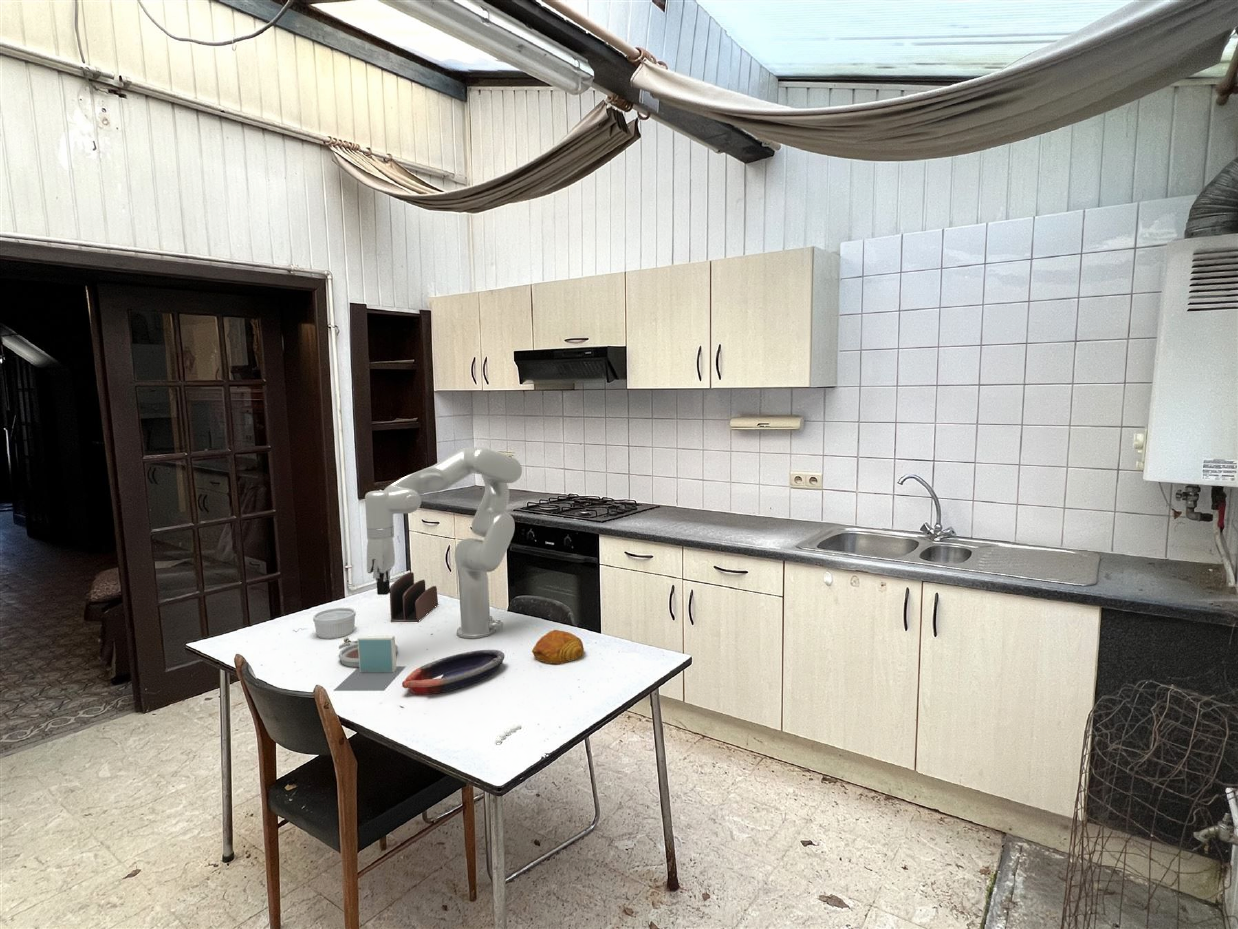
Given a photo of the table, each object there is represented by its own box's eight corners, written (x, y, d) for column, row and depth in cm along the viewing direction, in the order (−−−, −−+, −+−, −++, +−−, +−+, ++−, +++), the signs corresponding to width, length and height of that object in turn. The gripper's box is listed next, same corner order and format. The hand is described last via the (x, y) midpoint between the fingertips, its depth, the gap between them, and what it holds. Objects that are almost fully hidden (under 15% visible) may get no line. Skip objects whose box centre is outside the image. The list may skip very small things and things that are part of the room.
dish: (517, 672, 192) (516, 656, 191) (414, 707, 172) (413, 688, 171) (490, 657, 203) (489, 641, 203) (390, 688, 184) (389, 670, 183)
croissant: (560, 649, 213) (557, 624, 213) (592, 655, 202) (590, 629, 202) (523, 662, 203) (520, 635, 203) (555, 669, 192) (552, 641, 192)
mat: (406, 667, 197) (405, 666, 196) (384, 692, 181) (384, 690, 181) (359, 668, 197) (359, 666, 197) (333, 692, 181) (333, 690, 181)
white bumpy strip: (519, 721, 163) (520, 715, 163) (534, 728, 161) (535, 722, 161) (477, 750, 150) (478, 744, 150) (493, 758, 148) (493, 752, 148)
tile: (396, 669, 195) (394, 635, 194) (393, 672, 192) (391, 638, 191) (362, 669, 195) (360, 635, 194) (359, 672, 193) (356, 638, 192)
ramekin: (365, 630, 229) (363, 610, 228) (330, 643, 218) (328, 622, 217) (340, 624, 236) (339, 605, 236) (306, 636, 225) (304, 616, 225)
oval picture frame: (371, 629, 224) (407, 648, 203) (371, 637, 224) (407, 657, 204) (317, 641, 213) (350, 662, 192) (318, 650, 213) (350, 672, 192)
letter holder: (390, 623, 236) (388, 584, 235) (413, 605, 256) (411, 569, 254) (418, 623, 235) (415, 584, 234) (438, 605, 255) (436, 569, 253)
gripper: (378, 528, 205) (381, 587, 207) (356, 538, 190) (360, 601, 192) (402, 527, 205) (405, 586, 207) (382, 538, 190) (386, 601, 192)
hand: (383, 593), depth 199 cm, fingers closed
